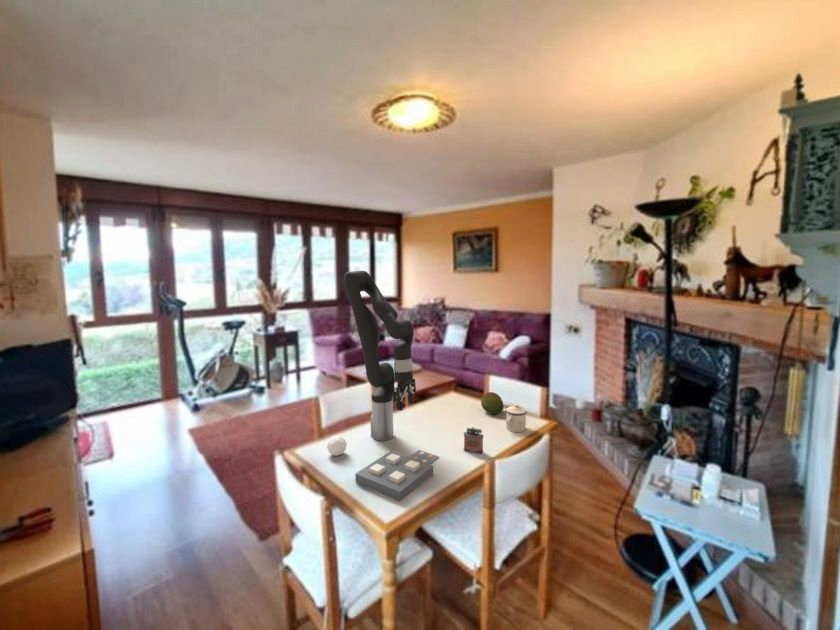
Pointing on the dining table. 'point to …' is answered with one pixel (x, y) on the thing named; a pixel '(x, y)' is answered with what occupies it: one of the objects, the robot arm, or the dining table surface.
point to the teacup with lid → (516, 418)
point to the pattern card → (424, 457)
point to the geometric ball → (336, 445)
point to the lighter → (473, 441)
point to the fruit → (492, 403)
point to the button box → (382, 481)
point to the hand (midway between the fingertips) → (405, 406)
